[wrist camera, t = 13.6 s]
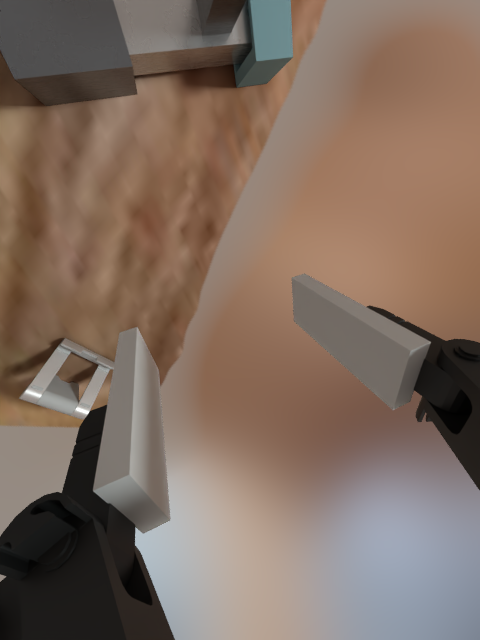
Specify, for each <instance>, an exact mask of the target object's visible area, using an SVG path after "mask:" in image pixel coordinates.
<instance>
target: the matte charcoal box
mask: <svg viewBox="0 0 480 640" xmlns="http://www.w3.org/2000/svg"><path fill="white" fill-rule="evenodd" d="M0 50H1V53H2V55H3V57H4V59H5V61H6V63H7V65H8V67H9V69H10V71H11V73H12V75H13V77H14V79H15V80H16V81H17V82H18V83H20V84H21V85H22V86H23V87H24V88H26V89H27V90H28V91H29V92H30V93H31V94H33V95H34V96H35V97H36V98H37V99H38V100H40V101H41V102H42V103H43V104H44V105H46V106H50V105H58V104H66V103H73V102H81V101H89V100H96V99H104V98H112V97H119V96H127V95H135V94H137V89H136V83H135V77H134V71H133V65H132V62H131V59H130V55H129V52H128V48H127V45H126V42H125V38H124V35H123V32H122V28H121V25H120V21H119V18H118V15H117V11H116V8H115V4H114V1H113V0H0Z"/></svg>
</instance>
